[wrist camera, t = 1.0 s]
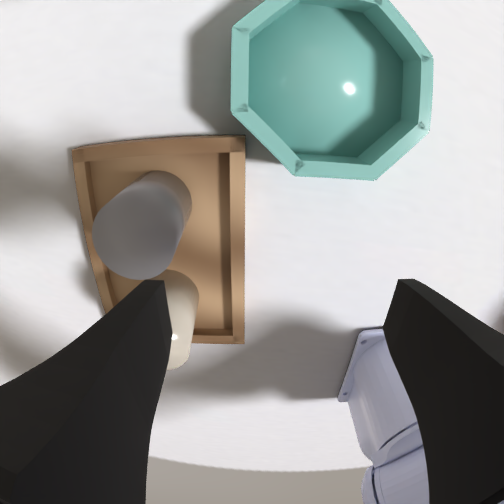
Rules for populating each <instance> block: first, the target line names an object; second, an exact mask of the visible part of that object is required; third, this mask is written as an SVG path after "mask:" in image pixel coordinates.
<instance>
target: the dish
mask: <svg viewBox="0 0 504 504" xmlns="http://www.w3.org/2000/svg"><path fill="white" fill-rule="evenodd" d="M432 57H433V56H432V55H431V53H430V52H429V50H428V49H427V48H426V46H425V45H424V43H423V42H422V41H421V39H420V38H419V37H418V35H417V34H416V33H415V31H414V30H413V29H412V27H411V26H410V25H409V24H408V22H407V21H406V20H405V19H404V18H403V16H402V15H401V14H400V13H399V12H398V10H397V9H396V8H395V7H394V6H393V5H392V3H391V2H390V1H389V0H265V1H264V2H262V3H261V4H260V5H258V6H257V7H256V8H255V9H253V10H252V11H251V12H249V13H248V14H247V15H246V16H244V17H243V18H242V19H241V20H239V21H238V22H237V23H236V24H235V25H233V28H232V40H231V112H233V113H232V115H233V116H234V117H236V118H237V119H238V120H239V121H240V122H241V123H242V124H243V125H244V126H245V127H246V128H247V129H248V130H249V131H250V132H251V133H252V134H253V135H254V136H255V137H256V138H257V139H258V140H259V141H260V142H261V143H262V144H263V145H264V146H265V147H266V148H267V149H268V150H269V151H270V152H271V153H272V154H273V155H274V156H275V157H276V158H277V159H278V160H279V161H280V162H281V163H282V164H283V165H284V166H285V168H286V169H287V170H288V171H289V172H290V173H291V174H292V175H294V176H301V177H324V178H342V179H357V180H370V181H374V179H375V180H376V179H378V178H379V177H380V176H381V175H382V174H383V173H384V172H385V171H387V170H388V169H389V168H390V167H391V166H392V165H393V164H395V163H396V162H397V161H398V160H399V159H400V158H401V157H402V156H404V155H405V154H406V153H407V152H408V151H409V150H410V149H411V148H412V147H414V146H415V145H416V144H417V143H418V142H419V141H420V140H421V139H422V138H424V137H425V136H426V135H427V134H428V133H429V132H428V131H430V121H431V109H432V92H433V58H432Z"/></svg>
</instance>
